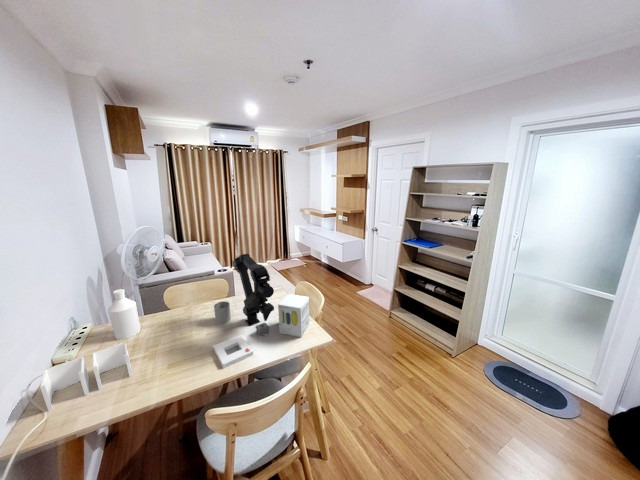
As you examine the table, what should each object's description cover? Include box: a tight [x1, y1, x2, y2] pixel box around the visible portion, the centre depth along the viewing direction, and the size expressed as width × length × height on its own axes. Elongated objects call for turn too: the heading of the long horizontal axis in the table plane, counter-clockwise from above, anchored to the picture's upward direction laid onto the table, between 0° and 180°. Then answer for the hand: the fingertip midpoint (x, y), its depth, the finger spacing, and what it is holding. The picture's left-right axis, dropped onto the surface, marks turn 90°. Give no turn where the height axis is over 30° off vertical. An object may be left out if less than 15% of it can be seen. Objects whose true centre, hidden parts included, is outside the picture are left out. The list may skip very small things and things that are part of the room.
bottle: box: [107, 288, 142, 340], centre depth 133 cm, size 12×12×25 cm
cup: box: [213, 301, 232, 325], centre depth 147 cm, size 8×8×10 cm
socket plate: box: [212, 334, 254, 369], centre depth 121 cm, size 16×14×2 cm
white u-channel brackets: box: [39, 341, 133, 411], centre depth 102 cm, size 25×11×11 cm, turn 131°
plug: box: [255, 322, 270, 338], centre depth 135 cm, size 4×5×6 cm
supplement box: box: [277, 293, 311, 338], centre depth 138 cm, size 13×13×18 cm
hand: (261, 316), depth 134 cm, fingers open, 9 cm apart
